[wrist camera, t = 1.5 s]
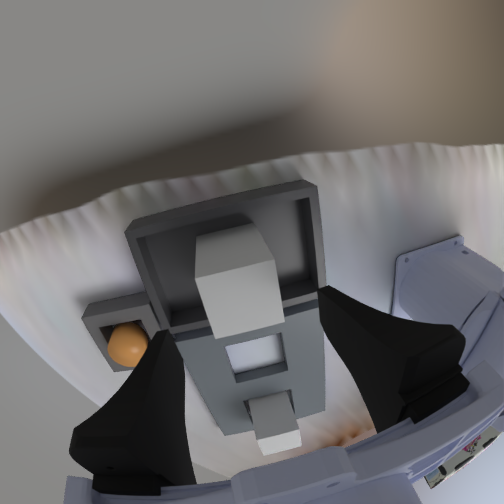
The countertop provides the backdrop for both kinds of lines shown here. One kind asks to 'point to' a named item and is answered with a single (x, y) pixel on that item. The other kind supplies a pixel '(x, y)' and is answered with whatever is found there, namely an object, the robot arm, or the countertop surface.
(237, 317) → the pale grey block
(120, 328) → the orange button
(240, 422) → the grey slotted board
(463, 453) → the candy bar box
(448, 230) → the countertop surface
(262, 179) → the countertop surface
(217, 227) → the tote
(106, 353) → the button housing
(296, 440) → the seated block
